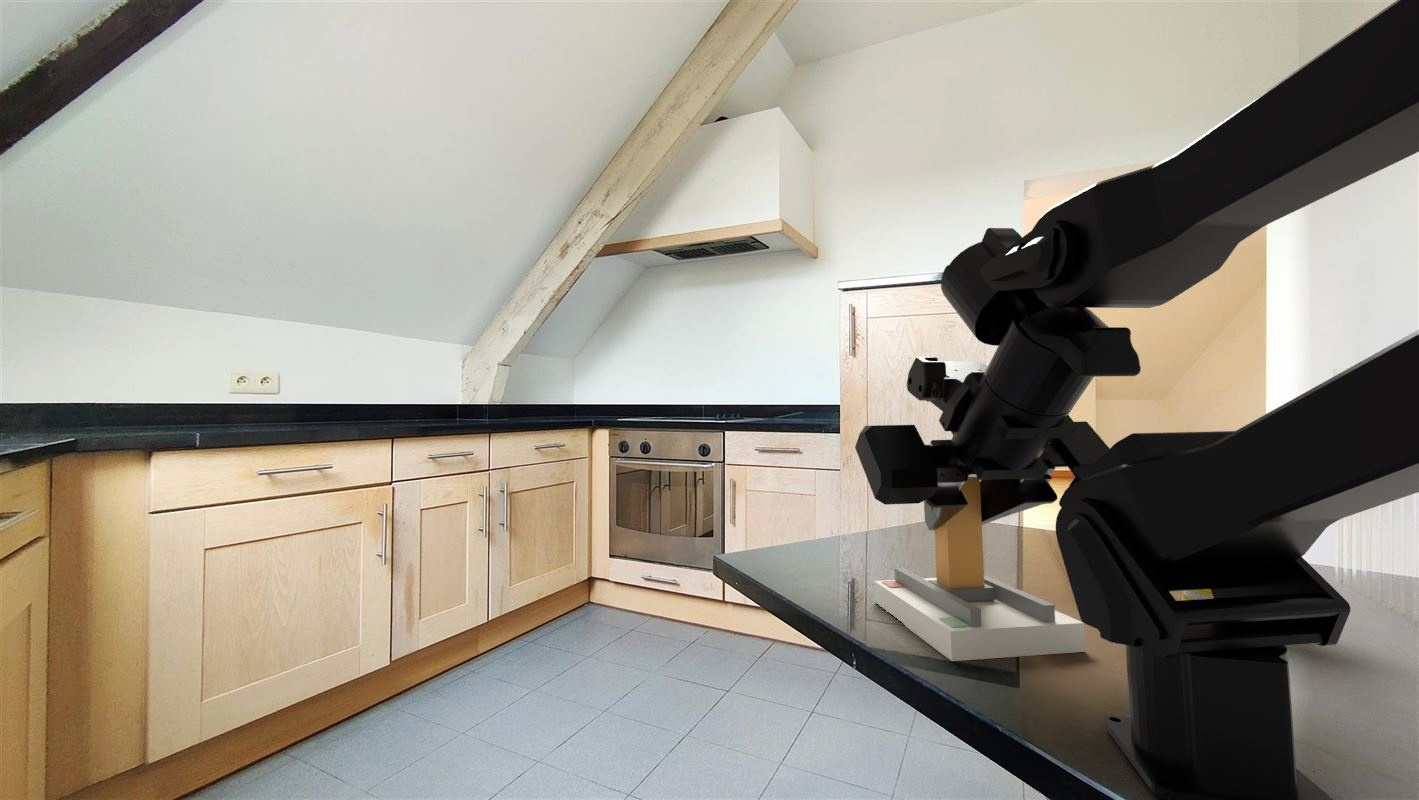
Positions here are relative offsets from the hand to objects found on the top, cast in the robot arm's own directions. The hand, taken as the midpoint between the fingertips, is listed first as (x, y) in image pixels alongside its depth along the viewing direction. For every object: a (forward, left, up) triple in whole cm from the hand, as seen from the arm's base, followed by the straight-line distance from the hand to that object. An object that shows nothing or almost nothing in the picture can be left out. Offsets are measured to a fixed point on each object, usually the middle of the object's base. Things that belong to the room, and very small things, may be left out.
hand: (947, 525), depth 48 cm
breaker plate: (-2, -1, -8) cm, 8 cm away
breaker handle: (-1, -1, -6) cm, 6 cm away
